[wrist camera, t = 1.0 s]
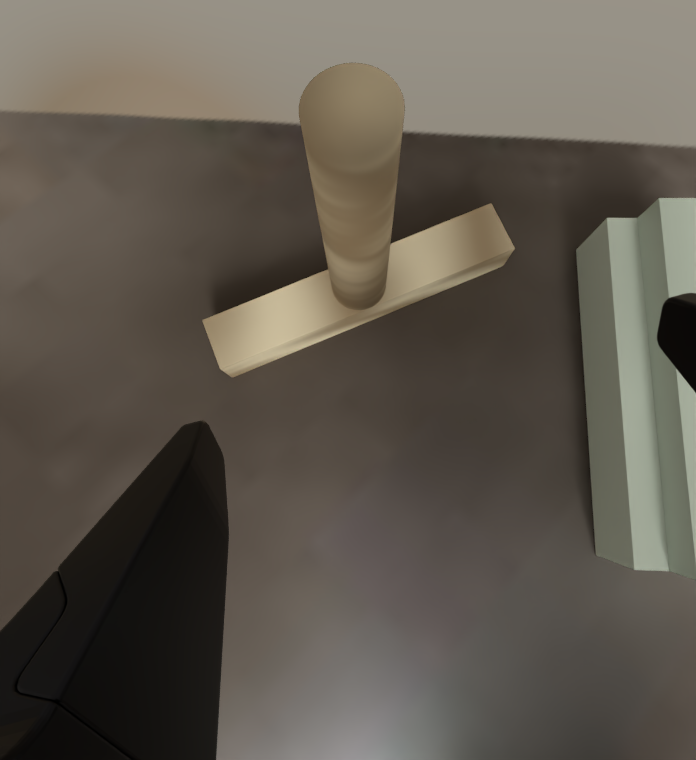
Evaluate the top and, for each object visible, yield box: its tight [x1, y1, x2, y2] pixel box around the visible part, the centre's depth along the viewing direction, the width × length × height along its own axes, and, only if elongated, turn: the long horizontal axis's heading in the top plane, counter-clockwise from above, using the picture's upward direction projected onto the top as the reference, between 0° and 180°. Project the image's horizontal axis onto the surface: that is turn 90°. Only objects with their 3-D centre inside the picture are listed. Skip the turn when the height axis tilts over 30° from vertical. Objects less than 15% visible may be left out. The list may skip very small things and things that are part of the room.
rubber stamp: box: [202, 63, 515, 378], centre depth 17 cm, size 14×2×12 cm, turn 113°
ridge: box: [576, 198, 696, 580], centre depth 19 cm, size 14×5×4 cm, turn 179°
